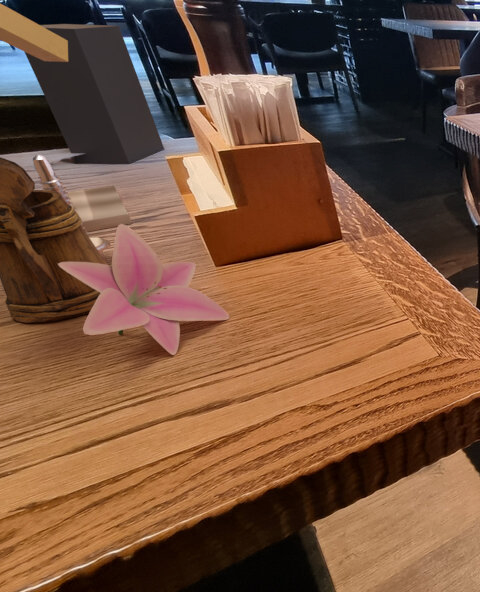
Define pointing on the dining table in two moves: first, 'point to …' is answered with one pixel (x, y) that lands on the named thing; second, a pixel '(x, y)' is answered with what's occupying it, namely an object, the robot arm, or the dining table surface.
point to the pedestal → (97, 97)
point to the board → (99, 208)
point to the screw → (61, 192)
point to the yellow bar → (31, 37)
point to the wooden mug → (41, 251)
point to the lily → (143, 292)
